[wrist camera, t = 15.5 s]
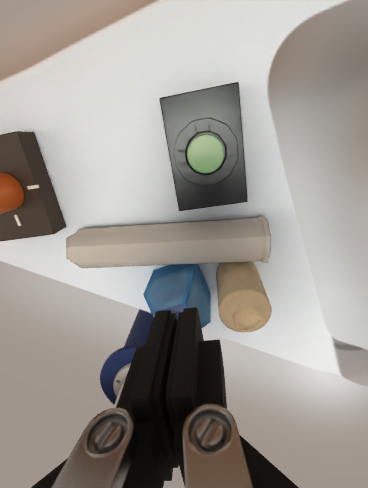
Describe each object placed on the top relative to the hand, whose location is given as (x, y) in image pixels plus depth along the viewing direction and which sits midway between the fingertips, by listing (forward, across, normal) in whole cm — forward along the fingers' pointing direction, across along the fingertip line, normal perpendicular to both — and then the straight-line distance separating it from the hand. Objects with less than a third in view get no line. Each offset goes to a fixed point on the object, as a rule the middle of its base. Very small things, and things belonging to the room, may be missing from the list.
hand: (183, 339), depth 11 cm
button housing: (+24, -2, -7) cm, 25 cm away
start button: (+20, -2, -7) cm, 21 cm away
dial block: (+24, +22, -6) cm, 33 cm away
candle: (+24, -4, +10) cm, 26 cm away
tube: (+24, +5, +3) cm, 25 cm away
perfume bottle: (+24, +4, +10) cm, 27 cm away
